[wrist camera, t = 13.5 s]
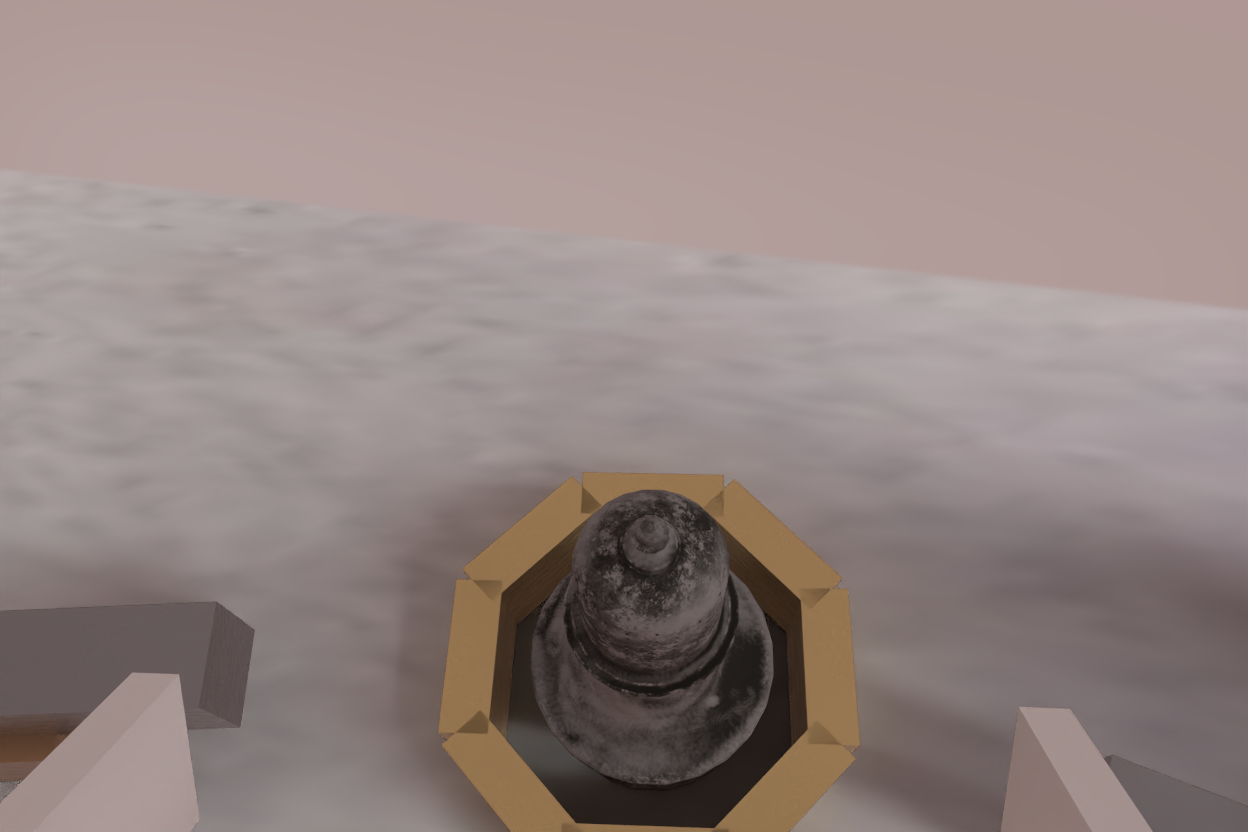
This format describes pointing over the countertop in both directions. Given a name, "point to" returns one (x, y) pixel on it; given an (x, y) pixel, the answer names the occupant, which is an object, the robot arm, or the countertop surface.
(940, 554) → the countertop surface
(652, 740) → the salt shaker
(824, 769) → the brass collar
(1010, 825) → the robot arm
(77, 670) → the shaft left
